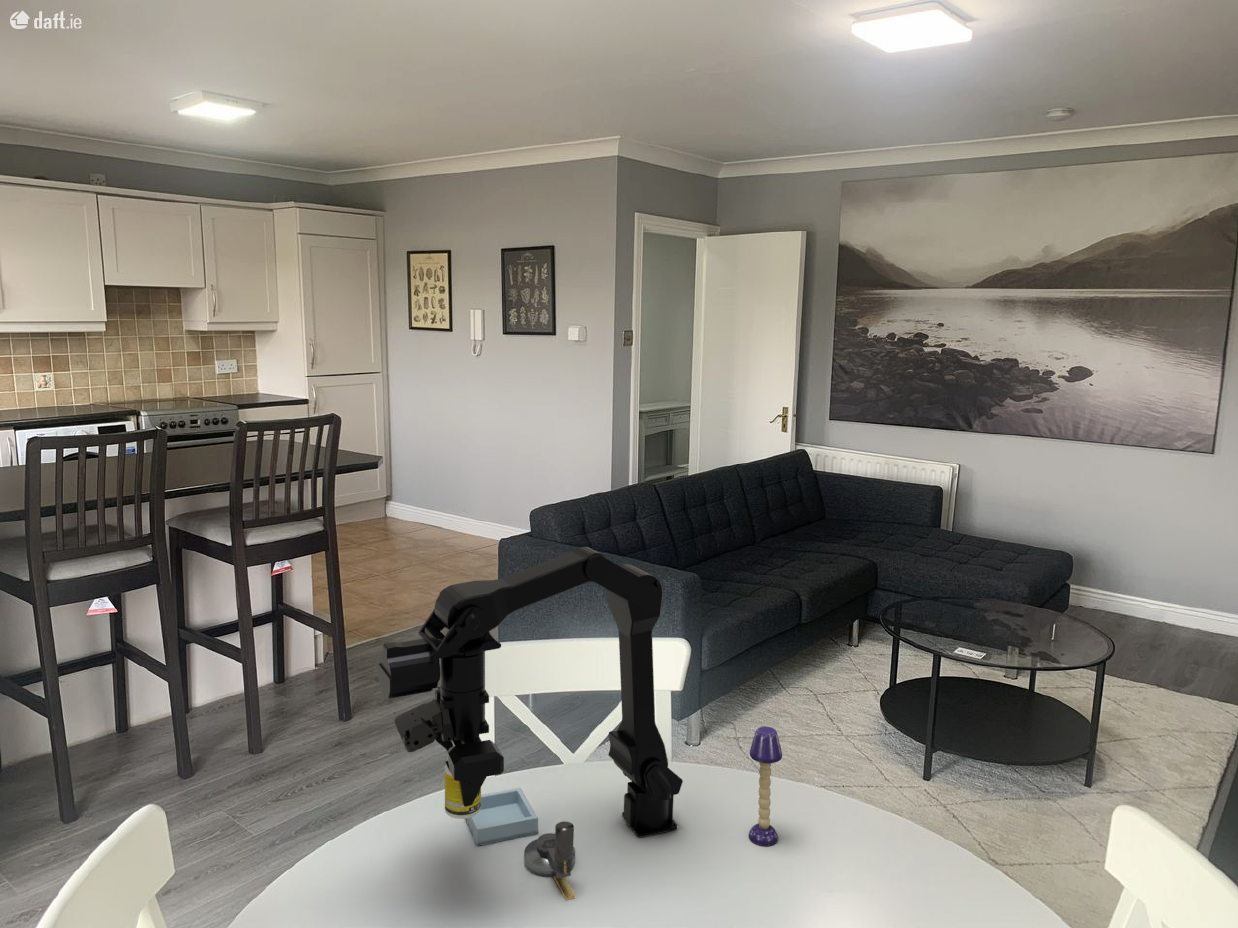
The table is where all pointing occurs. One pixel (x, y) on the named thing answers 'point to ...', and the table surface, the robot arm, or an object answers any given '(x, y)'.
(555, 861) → the crank
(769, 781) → the toy lamp
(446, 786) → the supplement bottle
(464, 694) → the robot arm
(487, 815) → the tray
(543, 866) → the crank base
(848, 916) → the table surface
